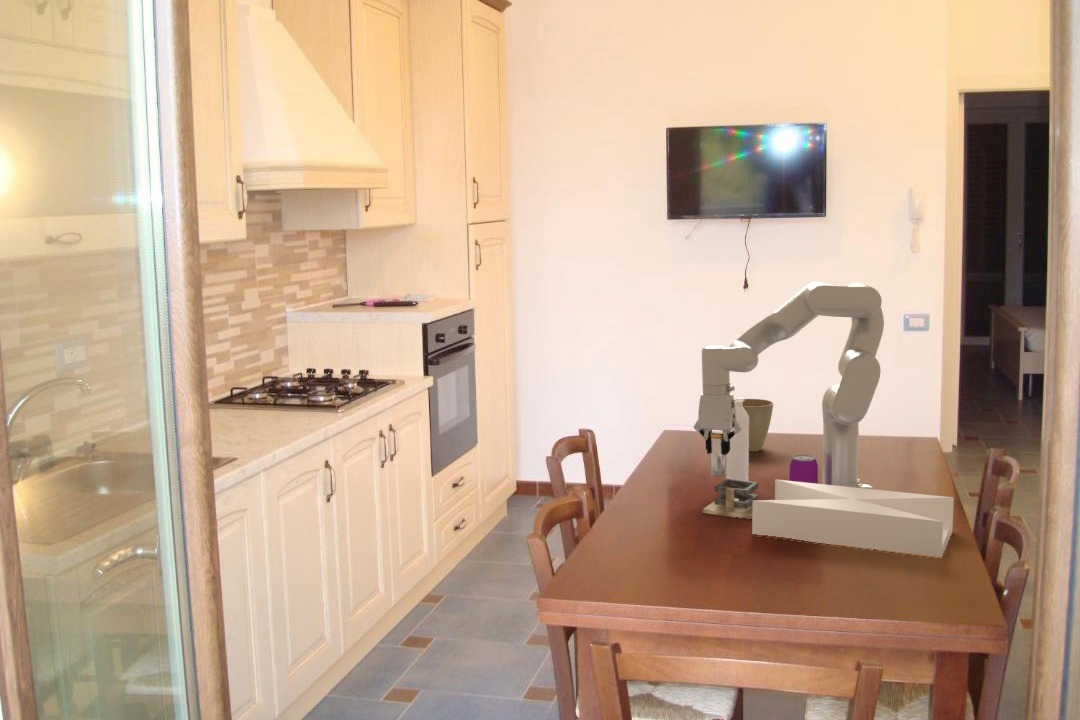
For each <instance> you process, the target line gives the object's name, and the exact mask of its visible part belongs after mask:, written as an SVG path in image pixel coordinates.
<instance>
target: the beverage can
mask: <svg viewBox="0 0 1080 720" xmlns="http://www.w3.org/2000/svg"><path fill="white" fill-rule="evenodd" d="M818 475H819V464H818V461H817V459H816V457H815V456H814V455H810V454H795V455H792V458H791V460H790V463H789V476H788V477H789V480H788V481H796V482H805V483H815V484H819V482H818V477H819V476H818Z"/></svg>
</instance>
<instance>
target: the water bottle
mask: <svg viewBox="0 0 1080 720" xmlns="http://www.w3.org/2000/svg"><path fill="white" fill-rule="evenodd" d="M745 399H746V398H745V397H741V396H739V397H736V398H735V400H736V401H735V407H736V415H737V423H738V424H739V426H740V427H741V429H742V430H741V431H740V432H738V433H737V434H735V435H734V436H733V437H732V438H731V439H730V451H729V453H728V454H726V457H725V462H726V475H725V480H726V479H734V480H740V479H742V480H747V481H749V472H750V471H749V467H750V465H749V464H750V462H749V460H750V458H749V456H750V451H749V450H748V449H749V416H748V414H747V412H746V411H745V409H744V408H743V406H742V405H743V404H742V402H744V401H745ZM733 430H734V428H732V429H731V430H730V432H732V431H733ZM729 486H731V485H729Z"/></svg>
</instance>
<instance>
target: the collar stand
mask: <svg viewBox="0 0 1080 720" xmlns="http://www.w3.org/2000/svg"><path fill="white" fill-rule="evenodd" d="M730 485H731V486H732V487H729V486H730ZM757 489H759V482H758V481H747V480H742V479H740V480H734V479H726V478H725V479H724V480H722V481H721V482H720V483H718V484H716V485H715V486H714V492H715V493H719V494H720V495H718V496H717V497H716V498H715V499H714V501H712V502H711V503H710V504H709V505H707V506H705V507H704V508H702V513H703V514H707V515H708V514H709V515H715V516H723V517H730V518H736V517H738V518H737V519H743V518H746V519H745V520H750V519H752V511H753V500H759V494H753V493H754V492H755V491H756V490H757Z"/></svg>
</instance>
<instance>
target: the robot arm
mask: <svg viewBox="0 0 1080 720" xmlns="http://www.w3.org/2000/svg"><path fill="white" fill-rule="evenodd" d="M819 316H823V317H831V318H832V317H833V318H835V317H836V318H851V328H850V329H849V334H848V337H847V340H846V343H845V345H844V349H843V350H842V353H841V356H840V357H839V360H838V366H837V368H838V369H837V370H838V372H839V374H840V375H841V377H842V378H841V380H840V383H838V384H833V385H831V386H829V387H828V388H827V390H825V392H824V394H823V397H822V401H821V403H822V404H821V407H822V409H821V410H822V422H823V432H822V434H823V438H822V439H823V440H822V482H821V484H825V485H835V486H845V487H855V488H865V489H874V487H873V486H871V485H870V484H862V483H861V478H858V471H859V469H858V465H859V463H858V462H859V440H860V439H859V435H860V432H859V423H860V422H861V421H862V420H863V419H864V418H865V417H866V414H867V413H868V410H869V408H870V406H871V403H872V400H873V398H874V396H875V392H876V390H877V387H878V384H879V382H880V378H881V365H880V362H879V361H878V359H877V358H876V356H877V353H878V350H879V347H880V344H881V340H882V337H883V332H884V326H885V320H884V319H885V318H884V313H883V310H882V296H881V294H880V292H879V291H878V290H877V289H876V288H874V287H873V286H869V285H867V284H865V283H861V282H854V283H851V284H848V285H836V284H835V285H834V284H827V283H824V282H822V281H812V282H810V283H808V284H807V285H805V286H804V287H803V288H802V289H801V290H799V291H798V292H797V293H796V294H794V295H793V296H792V297H791V298H789V299H788V300H787V301H785V302H784V303H783V304H782V305H781V306H780V307H778V308H777V309H776V310H775V311H773V312H772V313H771V314H769V315H767V316H766V317H764V318H763V319H762V320H760V321H759V322H758V323H756V324H755V325H753V326H751V327H750V328H749V329H748V330H746V331H745V332H744V333H742V334H741V335H740V336H739V337H738V338H737V339H736V340H734V341H733V342H732V343H731V344H730V345H729V346H728V347H727V346H726V345H720V344H719V345H718V344H715V345H714V344H712V345H706V346H704V347H703V348H702V349H701V374H702V375H701V377H702V381H701V382H702V393H701V394H700V396H699V397H700V398H699V403H698V404H699V405H698V418H697V420H696V422H695V424H694V425H693V429H694V430H695V431H697V433H699V434H700V436H702V437H703V440H704V441H705V450H706V453H707V454H708V455H711V440H710V433H711V432H713V431H721V432H723V437H724V441H723V442H722V449H723V455H725V456H727V454H728V453H729V451H730V439H731V438H732V437H733V436H734V435H735V434H737V433H738V432H740V431H741V430H742V429H741V427H740V426H739V424H738V423H737V415H736V407H735V401H734V400H735V397H734V394H733V393H731V392H735V389H736V388H735V386H733V385H732V384H731V382H730V372H735V373H750V372H751V371H754V370H755V368H757V365H758V363H759V355H760V354H761V353H762V352H764V351H765V350H766V349H769V347H771V346H773V345H774V344H777V343H778V342H782V341H786V340H789V339H790V338H792V337H794V336H796V335H797V334H798V333H799V332H800V331H801V330H803V329H804V328H805V327H806V326H808V325H809V324H810V323H811V322H813V320H815V319H816V318H817V317H819ZM732 428H734V430H733V431H732V432H730V430H731V429H732Z"/></svg>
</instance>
